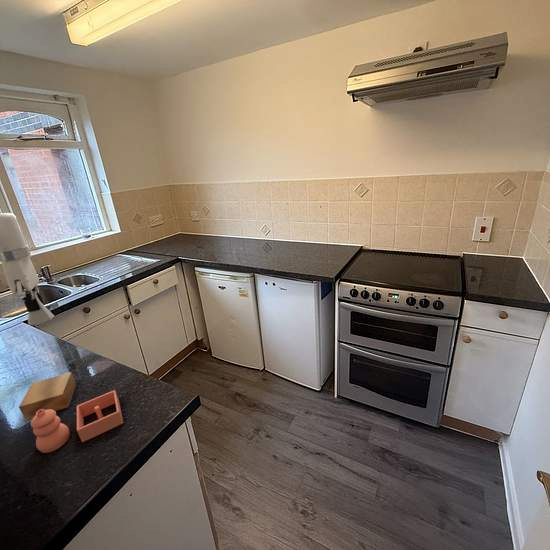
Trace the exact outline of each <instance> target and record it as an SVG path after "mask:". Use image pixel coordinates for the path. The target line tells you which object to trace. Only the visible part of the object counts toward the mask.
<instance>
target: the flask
mask: <svg viewBox="0 0 550 550" xmlns="http://www.w3.org/2000/svg"><path fill="white" fill-rule="evenodd" d="M32 292H33V295H34V298H36V299H37V301H38V304H39V306H40V310H37V311H33V312H28V311H27V312H28V313H27V324H28V325H29V326H34V325H40V324H43V323H46V322H49V321H51V320H52V319H53V318H54V317H55V315H54V313H52V311H50V309H48V307H46V306H45V304H44V305H43V304H42V303H41V301H40V300H39V298H38V297H37V294H36V293H37V292H36V291H32ZM26 294H29V292H28V293H26ZM29 295H30V294H29Z"/></svg>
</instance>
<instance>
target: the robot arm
mask: <svg viewBox="0 0 550 550" xmlns="http://www.w3.org/2000/svg"><path fill="white" fill-rule="evenodd" d="M31 257H32V254H31V251H30V249H29V247H28V244H27V241H26V239H25V236H24V233H23V232H22V228H21V226H20V224H19V221H18V218H17V216H16V215H15V214H13V213H12V212H1V213H0V264H1V266H2V271H3V274H4V277H5V279H6V282H7V285H8V288H9V290H10V293H12V294H13V295H16V294H17V296H18V298H19V299H21V300H22V302H23V303H24V306H25V308H26V310H27V312H33V311H37V310H40V306H39V304H38V301H37V299H36V298H34V295H33V292H32V291H36V292H37V293H36V294H37V297H38V298H39V300H40V301H41V303H42V304H43V305H44V306H45V302H44V300H43V297H42V295H41V292H40V289H39V286H38V284H39V282H40V278H39V275H38V272H37V270H36V267H35V266H34V264H33V262H32V259H31ZM28 292H29V294H30V295H29V294H26V293H28Z"/></svg>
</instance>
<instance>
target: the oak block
mask: <svg viewBox="0 0 550 550" xmlns="http://www.w3.org/2000/svg"><path fill="white" fill-rule="evenodd" d="M76 387H77V381H76V380H75V377H74V374H73V373H72V372H71V371H70V372H67V373H64V374H59V375H56V376H53V377H49V378H45V379H41V380H39V381H35V382H31V384H30V386H29V388H28V390H27V392H26V393H25V395H24V397H23V399H22V400H21V402H20V404H19V405H18V409H19V410H20V412H21V414H22V416H23V418H24V420H25V421H28V420H32V419H33V418H34V416H36V412H37V411H38V410H40V409H44V410H49V409H52V410H54V411H55V412H57V411H60V410H63V409H66V408H69V406H70V404H71V401H72V398H73V396H74V392H75V389H76Z"/></svg>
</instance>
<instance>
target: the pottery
mask: <svg viewBox="0 0 550 550" xmlns="http://www.w3.org/2000/svg"><path fill="white" fill-rule="evenodd" d="M113 405H115V408H116V411H114V412H113V413H111V414H107V415H106V416H104V415H103V413H102V410H103V409H105V408H108V407H110V406H113ZM94 413H95V414H96V416H97V420H94V421H92V422H90V423H88V424H86V425H84V423H85V422H84V420H85V419H84V417H87V416H90V415H91V414H94ZM122 424H124V419H123V414H122V409H121V403H120V400H119V397H118V395H117V391H116V389H113V390H111V391H109V392H107V393H104V394H102V395H100V396H96V397H95V398H92V399H90V400H87V401H85V402H83V403H80V404H78V405H76V433H77V434H78V436H79V439H80V441H81V443H84V442H86V441H88V440H90V439H92V438H95V437H97V436H99V435H101V434H103V433H106V432H108V431H110V430H112V429H114V428H116V427H118V426H121V425H122ZM30 427H31V428H32V432H33V435H34V436H35V437H36V439H35V446H36V447H35V448H36V449H37V451H39V452H40V453H42V454H48V453H52V452H54V451H56V450H58V449H60V448H61V447H62V446H63V445H65V444H66V442H67V441H69V438H70V434H71V433H70V429H69V427H68V426H67V424H65V423H61V418H60V416H58V415H57V411H54V410H52V409H49V410H44V409H40V410H38V411H37V412H36V416H34V418H31V419H30Z"/></svg>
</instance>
